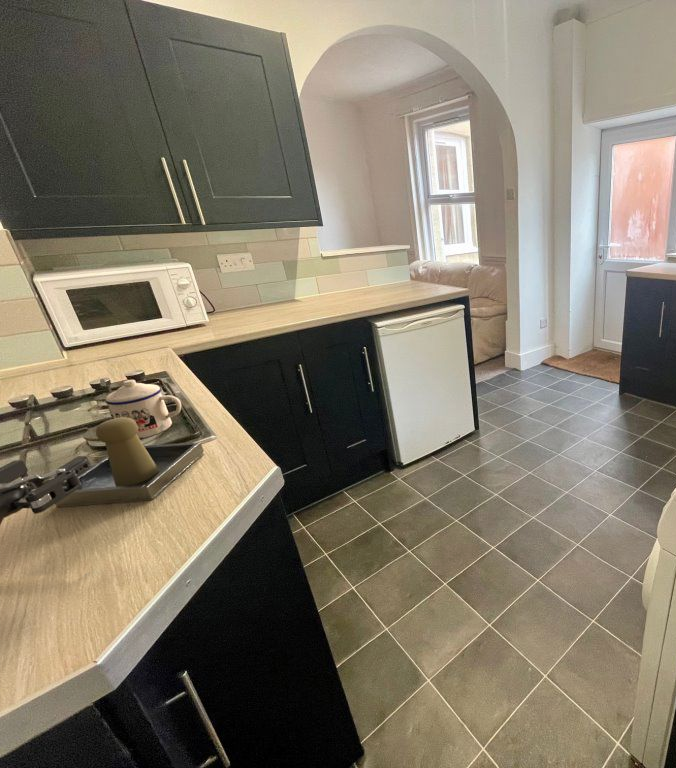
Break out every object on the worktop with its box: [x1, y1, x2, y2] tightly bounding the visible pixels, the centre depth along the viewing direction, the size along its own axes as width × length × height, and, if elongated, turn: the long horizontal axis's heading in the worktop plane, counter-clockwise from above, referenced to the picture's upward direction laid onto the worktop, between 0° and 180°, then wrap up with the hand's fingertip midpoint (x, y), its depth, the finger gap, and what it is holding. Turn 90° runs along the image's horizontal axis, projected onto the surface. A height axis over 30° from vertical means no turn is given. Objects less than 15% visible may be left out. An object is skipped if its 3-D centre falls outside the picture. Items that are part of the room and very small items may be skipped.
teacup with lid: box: [105, 379, 182, 439], centre depth 90 cm, size 12×9×12 cm
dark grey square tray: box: [54, 441, 205, 508], centre depth 74 cm, size 15×15×3 cm
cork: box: [95, 417, 158, 486], centre depth 72 cm, size 6×6×11 cm
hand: (54, 463), depth 60 cm, fingers open, 8 cm apart
